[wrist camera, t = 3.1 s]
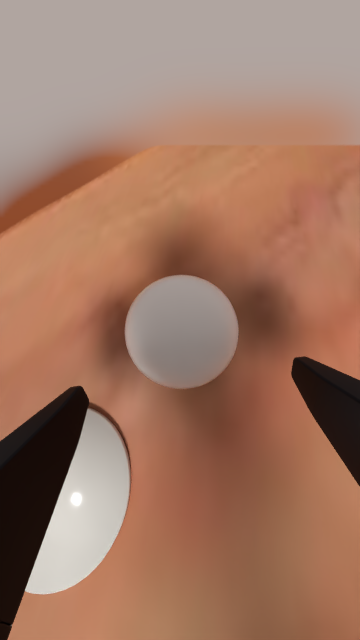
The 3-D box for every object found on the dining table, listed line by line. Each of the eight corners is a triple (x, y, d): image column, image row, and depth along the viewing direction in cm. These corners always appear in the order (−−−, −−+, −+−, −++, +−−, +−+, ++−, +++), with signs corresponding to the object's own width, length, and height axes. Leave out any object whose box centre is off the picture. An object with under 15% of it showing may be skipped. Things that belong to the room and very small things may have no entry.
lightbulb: (214, 317, 19) (234, 238, 9) (226, 381, 17) (274, 379, 7) (153, 326, 19) (103, 260, 9) (158, 390, 17) (100, 402, 7)
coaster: (158, 514, 14) (156, 520, 14) (13, 630, 13) (5, 641, 12) (94, 379, 18) (91, 379, 17) (-22, 457, 17) (-30, 460, 16)
